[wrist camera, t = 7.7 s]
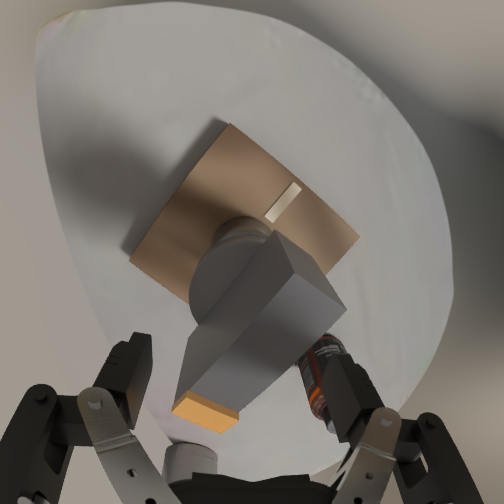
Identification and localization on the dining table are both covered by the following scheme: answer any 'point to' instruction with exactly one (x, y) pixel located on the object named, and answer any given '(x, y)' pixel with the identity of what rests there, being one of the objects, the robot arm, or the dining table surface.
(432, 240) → the dining table surface
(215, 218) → the base
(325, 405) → the supplement bottle
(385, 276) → the dining table surface
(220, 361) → the wing cap
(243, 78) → the dining table surface
